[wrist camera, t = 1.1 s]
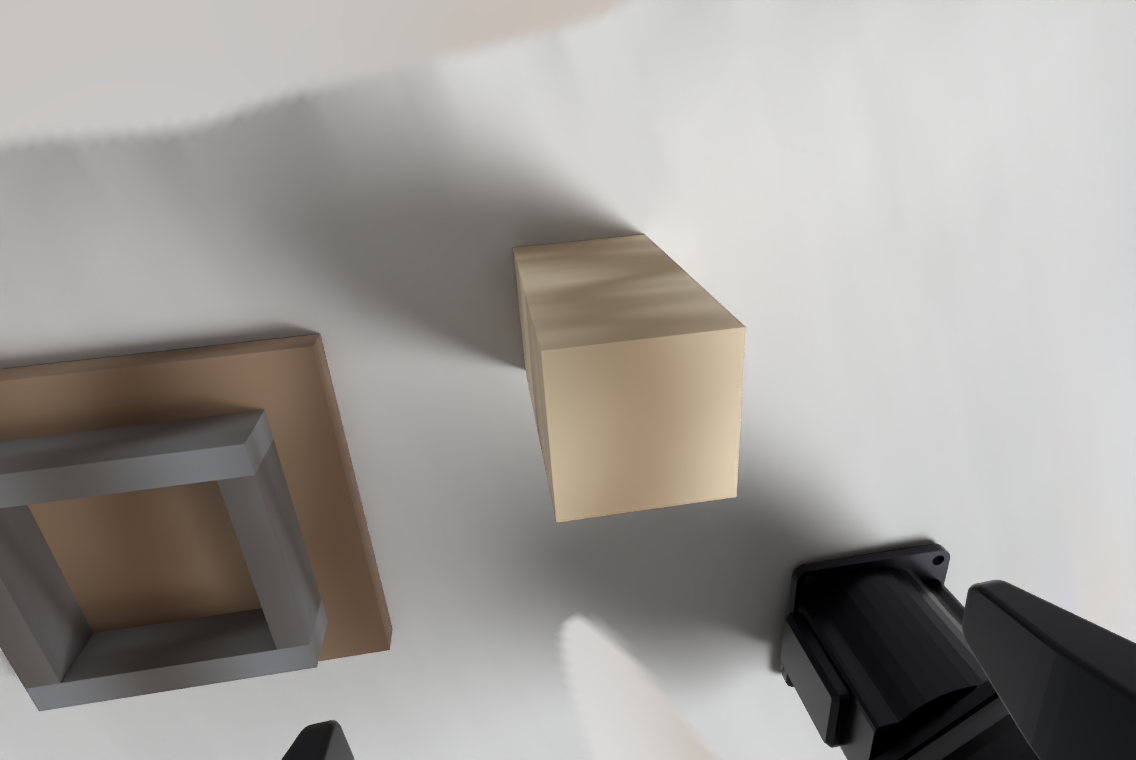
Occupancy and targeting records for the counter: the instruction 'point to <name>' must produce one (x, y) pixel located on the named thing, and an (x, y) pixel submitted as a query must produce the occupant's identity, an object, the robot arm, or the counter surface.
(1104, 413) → the counter surface
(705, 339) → the maple peg
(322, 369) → the socket holder
